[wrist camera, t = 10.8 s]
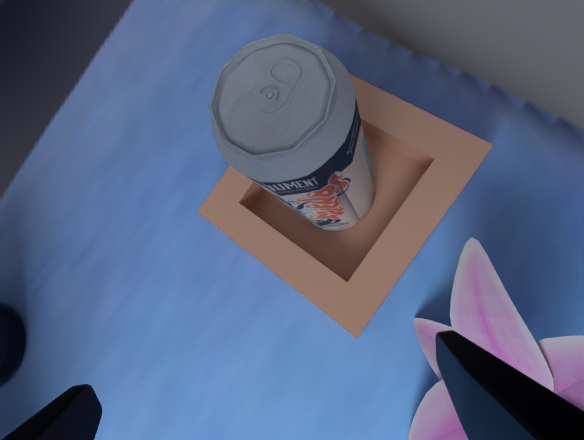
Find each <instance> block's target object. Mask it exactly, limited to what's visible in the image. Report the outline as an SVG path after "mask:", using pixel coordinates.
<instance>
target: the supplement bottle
mask: <svg viewBox="0 0 584 440" xmlns="http://www.w3.org/2000/svg"><path fill="white" fill-rule="evenodd" d="M24 340H25V338H24V329H23V325H22V322H21V320H20V318H19V316H18V315H17V313H16V312H15V311H14V310H13V309H12V308H11V307H9V306H7V305H5V304H3V303H0V387H1V386H2V385H3V384H5V383H6V382H7V381H8V380H9V379H10V378H11V377H12V375H13V374H14V372H15V371H16V369H17V367H18V366H19V363H20V361H21V358H22V355H23V350H24Z"/></svg>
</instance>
